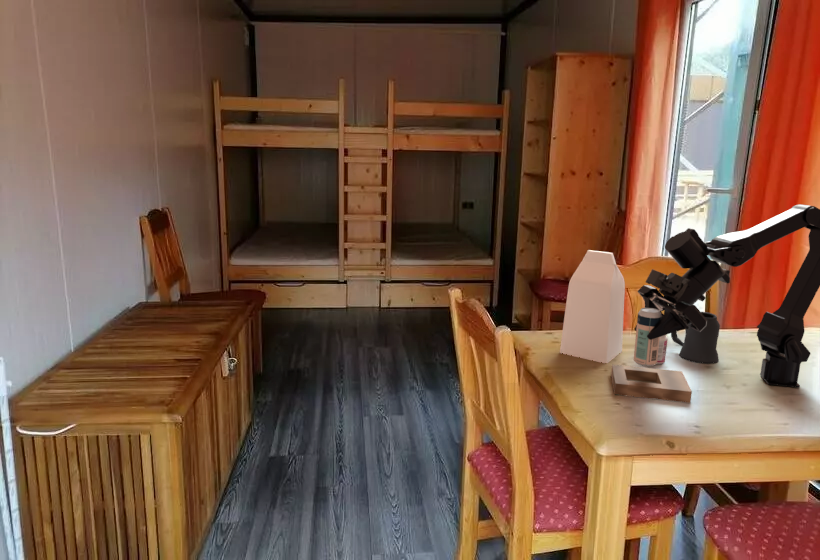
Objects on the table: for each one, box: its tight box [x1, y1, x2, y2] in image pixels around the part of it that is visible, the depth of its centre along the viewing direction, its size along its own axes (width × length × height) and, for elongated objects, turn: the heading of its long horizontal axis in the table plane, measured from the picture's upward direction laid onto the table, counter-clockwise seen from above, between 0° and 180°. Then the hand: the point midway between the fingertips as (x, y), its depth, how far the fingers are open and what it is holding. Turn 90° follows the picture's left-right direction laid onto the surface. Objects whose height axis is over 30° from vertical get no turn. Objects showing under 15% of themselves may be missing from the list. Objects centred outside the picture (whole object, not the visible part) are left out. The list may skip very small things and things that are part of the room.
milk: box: [559, 249, 626, 364], centre depth 156 cm, size 12×12×26 cm
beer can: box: [633, 307, 662, 367], centre depth 134 cm, size 5×5×12 cm
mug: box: [670, 311, 721, 365], centre depth 156 cm, size 12×9×11 cm
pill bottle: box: [656, 335, 668, 365], centre depth 152 cm, size 5×5×8 cm
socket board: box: [610, 364, 693, 404], centre depth 136 cm, size 15×12×2 cm
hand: (642, 334), depth 133 cm, fingers closed on beer can, 5 cm apart
